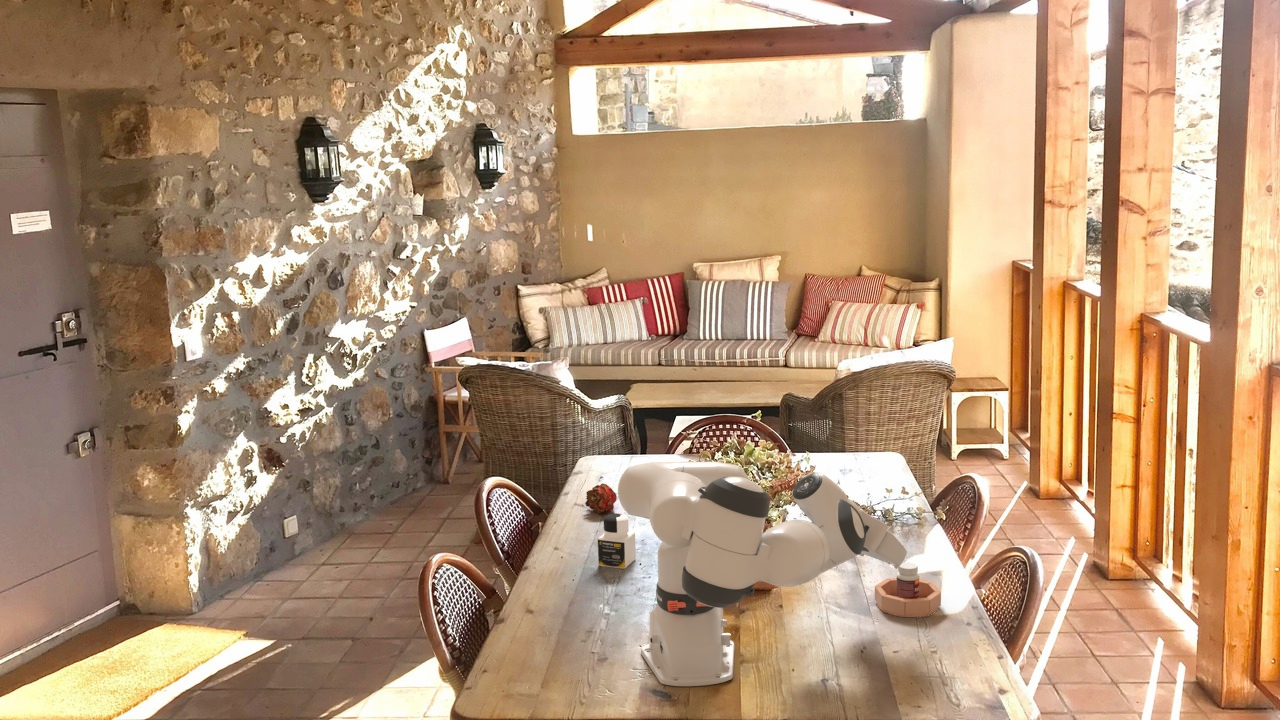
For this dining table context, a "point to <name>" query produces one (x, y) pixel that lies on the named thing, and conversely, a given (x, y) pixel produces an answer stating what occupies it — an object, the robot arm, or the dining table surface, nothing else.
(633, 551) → the medicine bottle
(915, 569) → the pill bottle
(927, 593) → the bowl
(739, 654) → the dining table surface
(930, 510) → the dining table surface
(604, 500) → the dragon fruit
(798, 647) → the dining table surface
